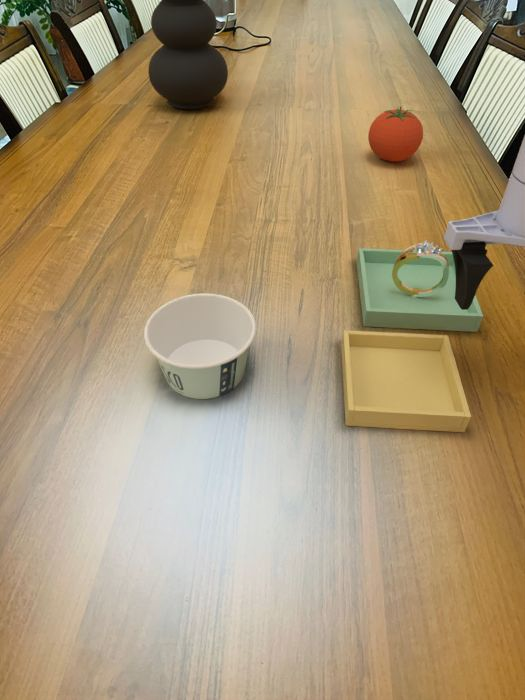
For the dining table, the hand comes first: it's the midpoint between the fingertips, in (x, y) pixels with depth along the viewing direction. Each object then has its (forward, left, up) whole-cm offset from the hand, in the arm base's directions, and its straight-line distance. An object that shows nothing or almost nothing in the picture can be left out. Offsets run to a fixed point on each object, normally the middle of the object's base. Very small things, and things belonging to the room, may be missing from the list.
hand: (496, 301), depth 53 cm
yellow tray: (+9, +4, -9) cm, 14 cm away
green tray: (+5, -13, -9) cm, 17 cm away
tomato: (+3, -57, -10) cm, 58 cm away
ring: (+5, -12, -9) cm, 16 cm away
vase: (+48, -86, -10) cm, 99 cm away
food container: (+31, +3, -10) cm, 33 cm away
